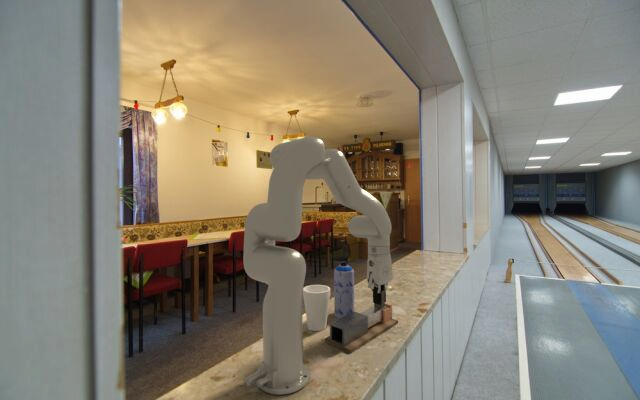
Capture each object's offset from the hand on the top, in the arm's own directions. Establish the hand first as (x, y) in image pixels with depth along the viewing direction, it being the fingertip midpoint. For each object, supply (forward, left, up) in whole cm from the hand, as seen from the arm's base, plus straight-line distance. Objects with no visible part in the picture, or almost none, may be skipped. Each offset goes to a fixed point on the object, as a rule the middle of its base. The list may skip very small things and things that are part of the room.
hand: (379, 302), depth 101 cm
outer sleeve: (-17, 0, -6) cm, 18 cm away
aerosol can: (-2, +14, -7) cm, 16 cm away
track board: (-10, 0, -7) cm, 12 cm away
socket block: (+1, 0, -6) cm, 6 cm away
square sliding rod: (-6, 0, -5) cm, 8 cm away
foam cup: (-17, +14, -7) cm, 23 cm away
